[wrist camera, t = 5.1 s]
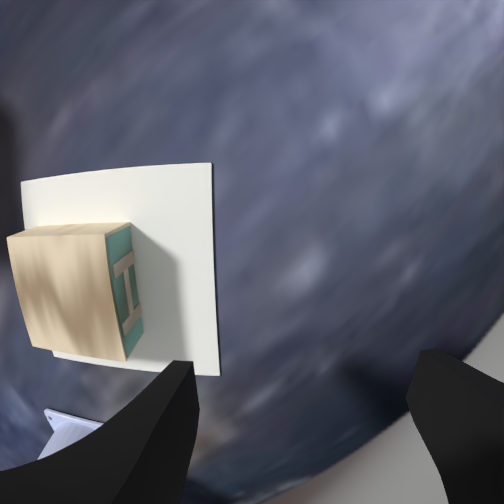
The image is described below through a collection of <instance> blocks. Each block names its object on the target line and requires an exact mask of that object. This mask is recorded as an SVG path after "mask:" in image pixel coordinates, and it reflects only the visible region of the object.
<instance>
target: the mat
mask: <svg viewBox="0 0 504 504" xmlns="http://www.w3.org/2000/svg"><path fill="white" fill-rule="evenodd" d="M21 194H22V207H23V217H24V226H25V230H28V229H30V228H33V227H36V226H44V225H63V224H84V223H109V222H130V226H131V238H132V249H133V250H134V260H135V262H134V268H135V276H136V284H137V292H138V299H139V303H140V306H141V313H142V314H141V318H142V324H143V330H144V332H143V333H144V334H143V335H142V337H141V338H140V340H139V342H138V343H137V345H136V347H135V348H134V350H133V352H132V353H131V355H130V356H129V358H128V360H127V361H126V362H122V361H114V360H107V359H100V358H93V357H87V356H81V355H75V354H69V353H64V352H58V351H53V350H52V351H53V354H54V356H55V357H60V358H65V359H70V360H75V361H81V362H87V363H93V364H99V365H105V366H112V367H120V368H127V369H136V370H145V371H154V372H162V371H163V370H164V369H165V368H166V367H167V366H168V365H169V364H170V363H171V362H172V361H173V360H180V361H193V363H194V371H195V375H212V376H220V369H219V354H218V338H217V321H216V302H215V281H214V255H213V222H212V163H192V164H172V165H156V166H142V167H130V168H119V169H109V170H100V171H91V172H83V173H75V174H67V175H60V176H54V177H47V178H41V179H35V180H29V181H23V182H21Z"/></svg>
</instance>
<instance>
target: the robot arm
mask: <svg viewBox="0 0 504 504" xmlns="http://www.w3.org/2000/svg"><path fill="white" fill-rule="evenodd" d="M405 398H406V401H407V404H408V407H409V410H410V413H411V415H412V418H413V421H414V423H415V425H416V427H417V429H418V431H419V433H420V435H421V437H422V439H423V441H424V443H425V445H426V447H427V449H428V451H429V452H430V455H431V456H432V459H433V460H434V463H435V464H436V467H437V469H438V471H439V474H440V476H441V479H442V482H443V485H444V488H445V491H446V495H447V498H448V503H449V504H504V383H503V382H500V381H498V380H496V379H494V378H492V377H490V376H488V375H486V374H484V373H483V372H481V371H479V370H477V369H475V368H473V367H471V366H469V365H468V364H466V363H464V362H462V361H460V360H459V359H457V358H455V357H453V356H451V355H449V354H447V353H445V352H443V351H440V350H438V349H428V350H422V351H420V355H419V358H418V361H417V365H416V368H415V371H414V374H413V377H412V380H411V383H410V386H409V389H408V392H407V394H406V397H405ZM199 411H200V408H199V401H198V394H197V387H196V379H195V371H194V363H193V361H180V360H173V361H172V362H171V363H170V364H169V365H168V366H167V367H166V368H165V369H164V370H163V371H162V372H161V373H160V374H159V375H158V376H157V377H156V378H155V379H154V380H153V381H152V382H151V383H150V384H149V385H148V386H147V387H146V388H145V389H144V390H143V391H142V392H141V393H140V394H138V395H137V396H136V397H135V398H134V399H133V400H132V401H131V402H130V403H129V404H128V405H126V406H125V407H124V408H123V409H122V410H120V411H119V412H118V413H117V414H116V415H114V416H113V417H112V418H111V419H109V420H108V421H107V422H105V423H100V422H95V421H91V420H87V419H83V418H79V417H75V416H72V415H68V414H64V413H61V412H58V411H54V410H51V409H45V411H44V413H45V415H46V417H47V419H48V421H49V423H50V424H51V426H52V428H53V430H54V434H53V435H52V437H51V438H50V440H49V442H48V443H47V445H46V446H45V448H44V450H43V451H42V453H41V455H40V456H39V458H38V460H36V461H34V462H31V463H28V464H25V465H22V466H19V467H16V468H12V469H8V470H4V471H0V504H180V500H181V495H182V490H183V487H184V483H185V479H186V475H187V471H188V467H189V464H190V460H191V456H192V452H193V448H194V444H195V440H196V436H197V428H198V420H199Z"/></svg>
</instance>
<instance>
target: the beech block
mask: <svg viewBox="0 0 504 504" xmlns="http://www.w3.org/2000/svg"><path fill="white" fill-rule="evenodd" d="M7 243H8V250H9V256H10V261H11V266H12V271H13V276H14V281H15V285H16V290H17V294H18V298H19V302H20V306H21V309H22V313H23V317H24V320H25V323H26V327H27V330H28V333H29V336H30V339H31V342H32V345H33V346H34V347H39V348H43V349H48V350H53V351H58V352H64V353H69V354H75V355H81V356H87V357H93V358H100V359H107V360H114V361H122V362H126V361H127V360H128V358H129V356H130V355H131V353H132V352H133V350H134V348H135V347H136V345H137V343H138V342H139V340H140V338H141V337H142V335H143V334H144V333H143V332H144V330H143V324H142V318H141V314H142V313H141V306H140V303H139V299H138V292H137V284H136V276H135V268H134V262H135V260H134V250H133V249H132V238H131V226H130V222H109V223H84V224H63V225H44V226H36V227H33V228H30V229H28V230H25V231H22V232H19V233H17V234H14V235H11V236H9V237H7Z"/></svg>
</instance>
